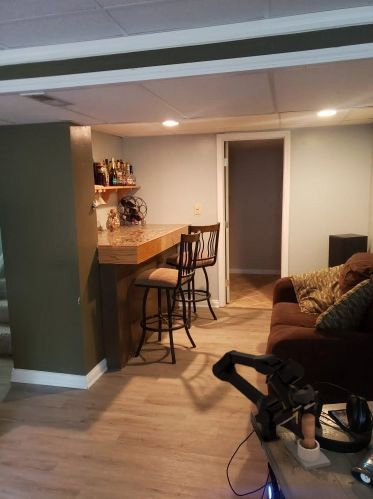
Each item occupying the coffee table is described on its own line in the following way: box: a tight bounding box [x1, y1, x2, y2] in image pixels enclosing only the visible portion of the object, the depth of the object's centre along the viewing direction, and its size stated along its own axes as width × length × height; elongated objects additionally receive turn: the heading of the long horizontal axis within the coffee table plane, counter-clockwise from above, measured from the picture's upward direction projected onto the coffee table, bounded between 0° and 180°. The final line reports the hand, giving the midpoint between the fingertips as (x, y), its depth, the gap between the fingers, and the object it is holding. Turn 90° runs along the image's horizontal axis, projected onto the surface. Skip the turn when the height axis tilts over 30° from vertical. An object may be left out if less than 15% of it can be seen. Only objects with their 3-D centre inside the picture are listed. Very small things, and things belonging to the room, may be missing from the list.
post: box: [301, 413, 316, 450], centre depth 128 cm, size 4×4×13 cm
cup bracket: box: [284, 438, 331, 472], centre depth 131 cm, size 13×9×5 cm
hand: (312, 433), depth 127 cm, fingers open, 9 cm apart
